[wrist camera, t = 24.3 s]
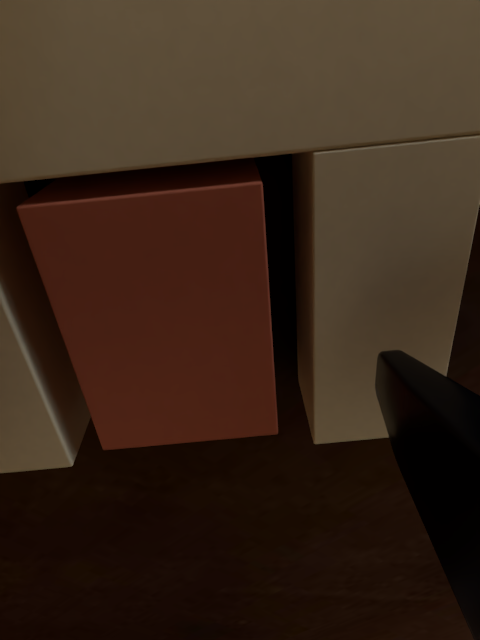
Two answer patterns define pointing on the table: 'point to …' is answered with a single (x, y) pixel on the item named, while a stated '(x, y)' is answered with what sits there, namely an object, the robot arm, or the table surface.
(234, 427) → the reddish brown rectangular block
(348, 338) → the beige letter-shaped block
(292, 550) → the table surface
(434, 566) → the table surface
